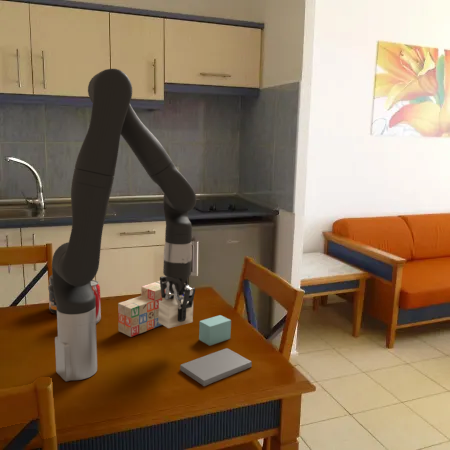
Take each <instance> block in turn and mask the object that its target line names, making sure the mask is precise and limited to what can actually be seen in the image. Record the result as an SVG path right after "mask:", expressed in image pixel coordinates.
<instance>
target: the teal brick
mask: <svg viewBox="0 0 450 450" xmlns="http://www.w3.org/2000/svg"><path fill="white" fill-rule="evenodd" d="M198 324H199V331H198V332H199V333H198V334H199V335H198V340H199V341H200V342H202V343H204V344H205V345H208V346H213V345H216V344H219V343H222V342H225V341H227V340H230V339H231V336H232V335H231V331H232V330H231V329H232V320H231V319H230V318H227V317H226V316H223V315H221V314H219V315H216V316H212V317H208V318H205V319H202V320H199V323H198Z"/></svg>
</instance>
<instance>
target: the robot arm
mask: <svg viewBox="0 0 450 450" xmlns="http://www.w3.org/2000/svg"><path fill="white" fill-rule="evenodd" d="M132 85H133V84H132V82H131V79H130V78H129V76H128V75H127V74H126V73H125V72H124V71H122V70H121V69H117V68H108V69H103V70H102V71H100V72H98V73H96V74H95V75H94V76H93V77H91V79H90V80H89V82H88V85H87V94H88V98H89V100H90V101H91V103H92V105H91V106H92V107H91V115H90V121H89V126H88V130H87V133H86V134H85V137H84V139H83V142H82V144H81V147H80V149H79V152H78V155H77V157H76V161H75V165H74V169H73V175H72V180H71V187H70V204H71V218H72V224H71V230H70V231H71V232H70V234H69V235H70V236H69V240H68V242H63V244H61V245H59V246H58V247H57V248H56V250H55V252H54V253H53V255H52V260H51V271H52V272H51V275H52V276H53V289H54V296H55V300H56V305H57V314H56V324H57V336H55V337H54V349H55V352H54V353H55V371H56V373H57V374H58V376H60V378H61V379H62V380H64V381H65V382H69V381H81V380H86V379H89V378H90V377H92V376H94V375H95V374H96V373H97V371H98V348H97V347H98V346H97V323H96V300H95V295H94V292H93V290H92V287H91V281H92V280H94V279H95V277H96V275H97V273H98V271H99V268H100V267H99V265H100V259H101V249H102V248H101V246H102V236H103V230H104V224H105V220H106V215H107V211H108V207H109V201H110V197H111V193H112V188H113V184H114V178H115V174H116V167H117V161H118V155H119V149H120V139H121V136H122V138H123V140H124V141H125V142H126V143H127V145H128V146H129V148H130V149H131V151H132V152H133V154H134V155H135V156H136V159H137V160H138V161H139V163H140V165H141V166H142V168H143V169H144V170H145V173H146V174H147V175H148V176H149V177H150V179H151V180H152V182H154V183H155V184H156V185H157V186H158V187H159V188H160V190H161V191H162V192H163V204H162V205H163V212H164V219H165V234H164V235H165V236H164V237H165V238H164V239H165V240H164V245H163V246H164V247H163V271H162V272H163V273H162V274H163V276H160V277H159V281H160V287H161V296H162V298H165V300H168V299H173V298H175V300H176V301H177V303H178V308H179V309H178V321H179V322H182V321H185V319H186V309H187V308H190V307H192V304H193V305H194V298H195V293H196V288H195V287H191V286H190V285H189V279H188V278H189V277H190V276H191V275H192V263H193V262H192V261H193V248H192V246H193V245H192V242H193V241H192V236H193V235H192V234H193V227H192V222H191V220H190V219H189V212H190V211H192V210H193V209H194V207H195V206H196V204H197V194H196V191H195V190H194V188H193V186H192V185H191V184H190V182H189V181H188V180H187V179H186V177H185V176H184V175H183V174H182V173H181V171H179V170H178V168H177V166H176V165H175V163H174V162H173V160H172V158H171V156H170V155H169V154H168V151H167V150H166V149H165V148H164V146H163V144H161V142H160V141H159V139H157V137H156V136H155V135H154V134H153V133H152V132H151V130H149V128H148V127H147V126H146V125H145V124H144V123H143V122H142V121H141V119H140V118H139V116H138V115H137V113H136V112H135V110H134V109H133V107H132V105H131V101H132V97H133V86H132ZM165 289H166V291H165ZM183 294H184V296H183V297H179V296H180V295H183ZM181 300H183V304H182V303H181ZM188 301H189V302H188Z"/></svg>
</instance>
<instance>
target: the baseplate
mask: <svg viewBox="0 0 450 450" xmlns="http://www.w3.org/2000/svg"><path fill="white" fill-rule="evenodd" d="M249 368H252V360H249V359H248V358H247V357H244V356H242V355H240V354H239V353H237V352H235V351H233V350H231V349H230V348H228V347H226V348H223V349H221V350H218V351H215V352H211V353H209V354H207V355H204V356H201V357H198V358H196V359H192V360H190V361H188V362H184V363H182V364H180V365H179V371H181V372H183V374H186V375H187V376H188V377H189V378H191V379H193V380H194V381H196V382H197V383H199V384H200V385H201V386H203V387H206V386H209V385H210V384H212V383H215V382H218V381H220V380H222V379H226V378H228V377H230V376H233V375H235V374H237V373H240V372H242V371H245V370H247V369H249Z"/></svg>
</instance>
